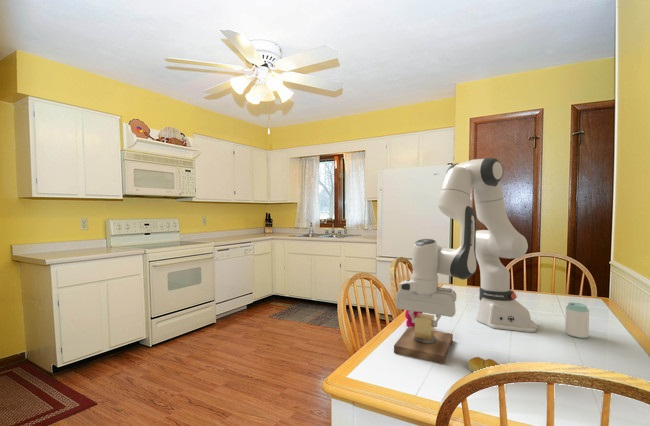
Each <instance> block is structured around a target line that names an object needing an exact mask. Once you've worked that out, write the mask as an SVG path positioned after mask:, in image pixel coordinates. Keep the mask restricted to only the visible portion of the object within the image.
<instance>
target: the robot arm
mask: <svg viewBox="0 0 650 426" xmlns="http://www.w3.org/2000/svg"><path fill="white" fill-rule="evenodd" d="M503 176H504V167H503V165H502V162H500V160H499V159H497V158H495V157H486V158H478V159H477V158H475V159H470V160H467V161H463V162H460V163H459V162H455V163H454V164H452V165H450V166H449V167H448V168H447V170H446V172H445V176H444V178H443V179H442V183H441V185H440V189H439V190H440V191H439V194H438V198H437V207H438V209H439V210H440V212H441V213H442V214H444V215H445V216H446V217H448V218H449V219H453V220H454V221H456V222H458V223H459V227H460V228H459V230H460V231H459V245H458V246H459V247H458V248H446V247H443V246H441V245H438V244H437V243H438V242H437V240H435V239H434V238H432V239H431V238H422V239H418V240H416V241H415V242H414V244H413V246H412V254H411V266H412V274H411V278H410V279H405V280H402V281H401V282H399V284H398V291H397V292H396V295H395V307H396V308H397V309H398V310H405V311H406V310H409V314H410V316H411V318H412V323H415V316H414V314H413V313H414V311H416V312H423V314H429V315H435V318H436V319H434V320H433V322H432V324H433V325H432V326H433V327H434V328H437V327H438V325H439V323H438V322H439V320H440V319H441V317H442V316H443V317H450V318H453V317H454V316H455V315H456V312H457V311H456V310H457V309H456V302H457V293H456V291H455V290H454V289H452V288H446V287H440V286H439V275H438V274H440V275H445V276H450V277H453V278H456V279H460V280H466V279H469V278H471V276H473V275H474V274H475V273H476V271H477V267H478V266H479V267H478V268H479V272H480V274H479V275H480V276H479V277H480V286H479V291H478V298H479V306H478V311H477V314H476V317H475V319H476V321H478V322H479V323H480V324H484V325H487V326H488V327H490V328H492V329H496V330H497V329H499V330H506V331H507V330H508V331H517V332H527V333H535V332H537V331H538V324H537V323H536V321H534V320H532V317H531V314H530V312H529V310H528V308H526V306H524V305H522V304H521V303H520V302H519V301H517V300H516V299H517V293H516V292H514V290H512V289H510V285H511V284H510V283H511V282H510V279H511V277H510V275H511V273H510V271H509V269H508V268H507V267H505V265H504V264H503V263H502V262H501V260H500V258H502V259H519V258H523V257H524V256H525V255H526V253H527V251H528V248H529V246H528V241H527V238H526V237H525V236H524V235H523V234H521V233H520V232H519V231H518V230H517V229H516V228H515V227H514V226H513V224H512V223H511V221H510V220H509V217H508V215H507V214H508V213H507V211H506V204H505V199H504V192H503V188H502V184H501V180H502V178H503ZM472 188H473V200H474V208H475V209H474V208H473V207H471V205H470V201H471V200H470V198H471V194H472ZM477 220H478V221H479V222H480V223H482V224H483V225H484V226H485V227H486V228H487V229H481V230H480V229H477ZM477 263H478V265H477Z"/></svg>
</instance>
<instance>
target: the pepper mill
mask: <svg viewBox="0 0 650 426" xmlns="http://www.w3.org/2000/svg"><path fill="white" fill-rule="evenodd" d="M418 313H423V312H416V311H414V313H413V314H414V316H415V317H416V315H417V314H418ZM423 314H424V313H423ZM404 316H405V318H406V321H405V322H406V323H405V325H406V327H407V328H408V327H409V326H411V327H415V323H412V318H411V316H410V314H409V310H405V313H404Z"/></svg>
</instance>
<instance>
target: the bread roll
mask: <svg viewBox="0 0 650 426" xmlns="http://www.w3.org/2000/svg"><path fill="white" fill-rule="evenodd" d="M495 365H500V364H499V363H498V362H497V361H495V360H493V359H492V358H487V359H484V358H481V357H480V356H479V357H478V356H475V357H473V358H470V359H469V360H468V362H467V369H468V371H469V372H471V373H472V372H474V371H477V370H480V369H483V368H486V367H490V366H495Z"/></svg>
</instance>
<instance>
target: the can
mask: <svg viewBox="0 0 650 426" xmlns="http://www.w3.org/2000/svg"><path fill="white" fill-rule="evenodd" d="M564 332H565V333H566V334H567V335H568V336H569V337H572V338H576V339H580V340H581V339H586V338H589V336H590V310H589V309H588V305H587V304H584V303H580V302H574V301H573V302H568V303H567V305H566V306H565V331H564Z"/></svg>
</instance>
